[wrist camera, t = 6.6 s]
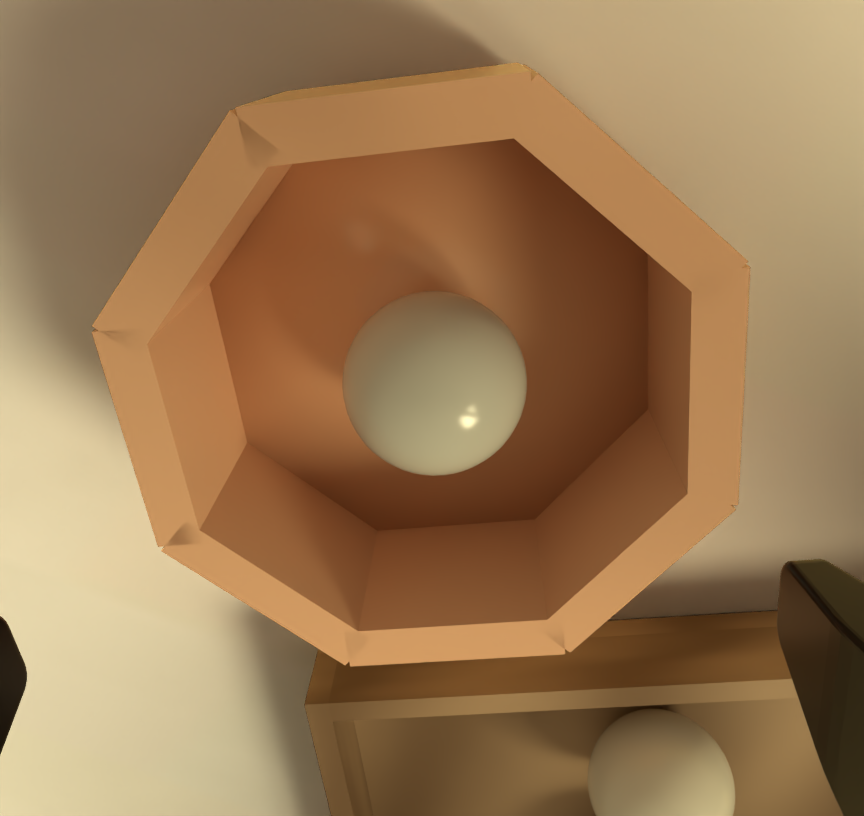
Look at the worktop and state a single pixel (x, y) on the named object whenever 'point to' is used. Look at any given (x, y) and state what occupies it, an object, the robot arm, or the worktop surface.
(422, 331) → the pebble
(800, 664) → the robot arm
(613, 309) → the bowl
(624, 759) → the pebble
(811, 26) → the worktop surface
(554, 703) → the tray
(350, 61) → the worktop surface
